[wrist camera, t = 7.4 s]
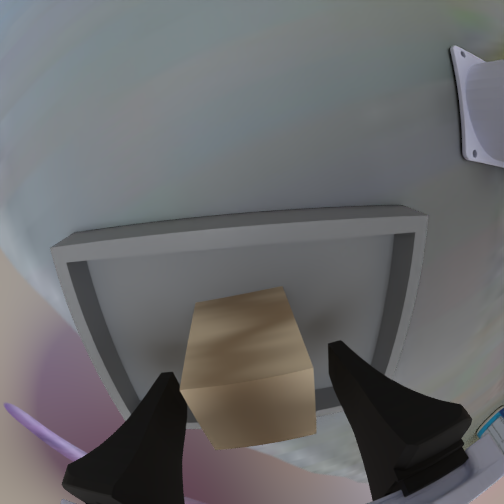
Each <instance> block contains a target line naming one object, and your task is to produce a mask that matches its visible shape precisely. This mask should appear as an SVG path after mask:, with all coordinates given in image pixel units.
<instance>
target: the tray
mask: <svg viewBox="0 0 504 504" xmlns="http://www.w3.org/2000/svg"><path fill="white" fill-rule="evenodd" d="M428 218H429V215H426V214H424V213H421V212H419V211H416V210H414V209H411V208H408V207H406V206H403V205H381V206H351V207H328V208H309V209H292V210H277V211H263V212H250V213H238V214H227V215H216V216H205V217H195V218H185V219H176V220H167V221H158V222H150V223H141V224H133V225H126V226H118V227H111V228H103V229H96V230H89V231H83V232H76V233H73V234H71V235H70V236H68V237H67V238H65V239H63V240H62V241H60V242H59V243H57V244H55V245H54V246H52V247H51V248H50V249H51V253H52V257H53V261H54V264H55V268H56V271H57V275H58V278H59V281H60V284H61V287H62V290H63V293H64V296H65V299H66V302H67V305H68V307H69V310H70V313H71V315H72V318H73V320H74V323H75V325H76V328H77V330H78V332H79V335H80V337H81V339H82V342H83V344H84V346H85V348H86V351H87V353H88V354H89V357H90V359H91V361H92V363H93V365H94V367H95V369H96V371H97V373H98V375H99V377H100V379H101V380H102V382H103V384H104V386H105V388H106V390H107V391H108V393H109V395H110V396H111V398H112V400H113V402H114V403H115V405H116V407H117V408H118V410H119V412H120V413H121V415H122V416H123V418H124V419H125V421H126V420H127V419H128V418H129V417H130V415H131V414H132V413H133V412H134V410H135V409H136V408H137V406H138V405H139V404H140V402H141V401H142V400H143V398H144V397H145V395H146V394H147V392H148V391H149V390H150V388H151V387H152V385H153V384H154V382H155V381H156V379H157V378H158V376H159V375H160V374H161V373H163V372H173V373H174V375H175V377H176V379H177V381H178V382H179V384H181V378H182V372H183V366H184V361H185V355H186V349H187V344H188V339H189V333H190V328H191V323H192V318H193V313H194V308H195V303H197V302H202V301H208V300H214V299H219V298H224V297H230V296H235V295H240V294H245V293H250V292H255V291H260V290H265V289H270V288H275V287H280V286H283V289H284V292H285V294H286V297H287V299H288V302H289V304H290V307H291V310H292V312H293V315H294V318H295V320H296V323H297V325H298V328H299V331H300V333H301V336H302V339H303V341H304V344H305V347H306V349H307V352H308V355H309V357H310V360H311V363H312V365H313V369H314V386H315V407H316V417H320V416H325V415H330V414H334V413H339V412H343V411H344V410H343V408H342V406H341V404H340V402H339V400H338V398H337V396H336V393H335V391H334V388H333V385H332V383H331V379H330V376H329V369H328V343H332V342H335V341H339V340H341V341H343V342H344V343H345V344H346V345H347V346H348V347H349V348H350V349H352V350H353V351H354V352H355V353H356V354H357V355H358V356H360V357H361V358H362V359H363V360H365V361H366V362H367V363H368V364H370V365H371V366H372V367H374V368H375V369H376V370H378V371H379V372H381V373H382V374H384V375H385V376H387V377H388V378H390V379H393V376H394V373H395V370H396V368H397V365H398V362H399V359H400V356H401V352H402V349H403V346H404V343H405V339H406V336H407V332H408V329H409V325H410V321H411V317H412V313H413V309H414V305H415V300H416V296H417V291H418V286H419V281H420V276H421V270H422V265H423V258H424V252H425V244H426V237H427V228H428ZM186 429H202V428H201V426H200V425H199V423H198V421H197V420H196V418H195V416H194V415H193V413H192V411H191V410H190V408H189V406H188V404H187V423H186Z"/></svg>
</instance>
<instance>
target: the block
mask: <svg viewBox="0 0 504 504" xmlns="http://www.w3.org/2000/svg"><path fill="white" fill-rule="evenodd" d="M180 392H181V394H182V395H183V397H184V399H185V401H186V403H187V404H188V406H189V408H190V410H191V411H192V413H193V415H194V416H195V418H196V420H197V421H198V423H199V425H200V426H201V428H202V430H203V431H204V433H205V434H206V436H207V438H208V439H209V440H210V442H211V444H212V445H213V447H214V448H215V450H220V449H232V448H240V447H249V446H256V445H263V444H269V443H275V442H280V441H285V440H290V439H295V438H300V437H304V436H308V435H312V434H316V407H315V386H314V369H313V365H312V363H311V360H310V357H309V355H308V352H307V349H306V347H305V344H304V341H303V339H302V336H301V333H300V331H299V328H298V325H297V323H296V320H295V318H294V315H293V312H292V310H291V307H290V304H289V302H288V299H287V297H286V294H285V292H284V289H283V286H280V287H275V288H270V289H265V290H260V291H255V292H250V293H245V294H240V295H235V296H230V297H224V298H219V299H214V300H208V301H202V302H197V303H195V308H194V313H193V318H192V323H191V328H190V333H189V339H188V344H187V349H186V355H185V361H184V366H183V372H182V378H181V384H180Z"/></svg>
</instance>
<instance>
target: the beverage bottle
mask: <svg viewBox="0 0 504 504" xmlns="http://www.w3.org/2000/svg"><path fill="white" fill-rule="evenodd" d="M486 434H490V436H491V437H492V439H493V440H494V442H495V443H496V445H497V446H498V448H499V449H500V451H501V452H502V454H503V456H504V406H502V407H500V408H499V409H497V410H496V411H495V412H494V413H493V414H492V415H491V416H490V417H489V418H488V419H487V420H486V421H485V422H484V423H483V424H482V425H481V426H480V427H479V429H478V431H477V435H478V437H479V438H480V439H481V438H482V437H483V436H484V435H486Z"/></svg>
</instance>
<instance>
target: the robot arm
mask: <svg viewBox="0 0 504 504" xmlns="http://www.w3.org/2000/svg"><path fill="white" fill-rule="evenodd" d="M450 51H451V56H452V61H453V65H454V71H455V76H456V82H457V89H458V96H459V104H460V114H461V127H462V152H463V156H464V158H465V159H466V160H469V161H474V162H479V163H484V164H489V165H494V166H498V167H502V168H504V59H503V60H496V61H490V62H485V61H484V60H482V59H480V58H478V57H477V56H475V55H473V54H471V53H469V52H467V51H466V50H464V49H462V48H460V47H458V46H452V47H451V48H450ZM328 369H329V376H330V379H331V383H332V385H333V388H334V391H335V393H336V396H337V398H338V400H339V402H340V404H341V406H342V408H343V410H344V412H345V414H346V416H347V419H348V421H349V423H350V425H351V427H352V429H353V432H354V434H355V437H356V440H357V443H358V447H359V450H360V453H361V456H362V460H363V463H364V467H365V470H366V474H367V478H368V482H369V486H370V490H371V495H372V500H373V501H372V502H370V503H367V504H469V503H470V502H471V501H473V500H474V499H475V498H477V497H478V496H479V495H481V494H482V493H483V492H484V491H486V490H487V489H488V488H489V487H491V486H492V485H493V484H494V483H496V482H497V481H498V480H499V479H500V478H501V477H502V476H504V456H503V454H502V452H501V451H500V449H499V448H498V446H497V445H496V443H495V442H494V440H493V439H492V437H491V436H490V434H486V435H484V436H483V437H482V438H481V439H479V440H478V441H476V442H475V443H474V444H472V445H471V446H470V447H468V448H467V449H466V450H465V451H464V449H463V448H462V446H463V445H464V442H463V441H462V439H461V438H462V436H463V435H464V434H465V432H466V431H467V430H468V428H469V427H470V425H471V422H472V418H471V417H470V415H469V414H468V412H467V411H466V410H465V409H464V407H463V406H462V405H461V404H456V403H451V402H446V401H442V400H438V399H435V398H431V397H428V396H425V395H423V394H420V393H418V392H415V391H413V390H410V389H408V388H406V387H404V386H402V385H400V384H399V383H397V382H395V381H393V380H392V379H390V378H388V377H387V376H385V375H384V374H382V373H381V372H379V371H378V370H376V369H375V368H374V367H372V366H371V365H370V364H368V363H367V362H366V361H365V360H363V359H362V358H361V357H360V356H358V355H357V354H356V353H355V352H354V351H353V350H352V349H350V348H349V347H348V346H347V345H346V344H345V343H344V342H343V341H341V340H339V341H335V342H332V343H328ZM186 423H187V403H186V401H185V399H184V397H183V395H182V394H181V392H180V384H179V382H178V381H177V379H176V377H175V375H174V373H173V372H163V373H161V374H160V375H159V376H158V378H157V379H156V381H155V382H154V384H153V385H152V387H151V388H150V390H149V391H148V392H147V394H146V395H145V397H144V398H143V400H142V401H141V402H140V404H139V405H138V406H137V408H136V409H135V410H134V412H133V413H132V414H131V415H130V417H129V418H128V419H127V420H126V421H125V423H124V424H123V425H122V426H121V427H120V428H119V429H118V430H117V431H116V432H115V433H114V434H113V435H111V436H110V437H109V438H108V439H107V440H106V441H104V443H102V444H101V445H100V446H99V447H97V448H96V449H94V450H93V451H91V452H90V453H88V454H87V455H85V456H83V457H82V458H80V459H78V460H76V461H74V462H72V463H71V464H68V466H67V469H66V472H65V476H64V479H63V482H62V486H63V488H64V489H65V490H67V491H68V492H70V493H71V494H72V495H74V496H75V497H77V498H79V499H80V500H82V501H83V502H85V503H86V504H185V503H184V494H183V480H182V456H183V455H182V454H183V446H184V439H185V431H186ZM60 504H76V503H73V502H70V501H67V500H64V499H62V500H61V503H60Z"/></svg>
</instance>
